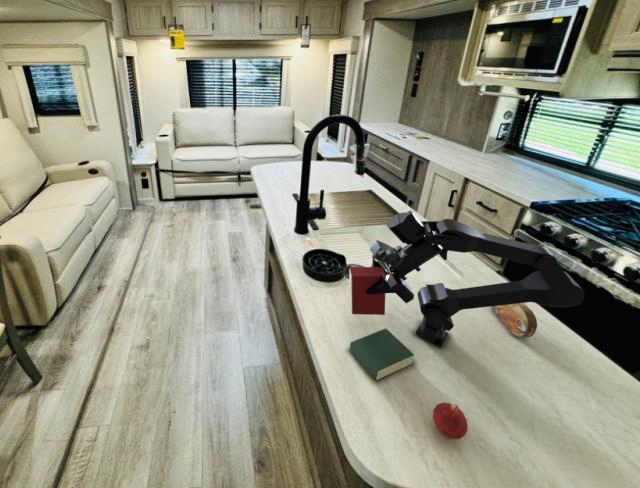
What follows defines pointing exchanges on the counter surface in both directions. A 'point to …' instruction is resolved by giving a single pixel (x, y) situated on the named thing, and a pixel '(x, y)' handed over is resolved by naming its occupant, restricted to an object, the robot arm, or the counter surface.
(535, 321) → the tin
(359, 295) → the paperback
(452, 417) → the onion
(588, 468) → the counter surface
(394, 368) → the hardcover
